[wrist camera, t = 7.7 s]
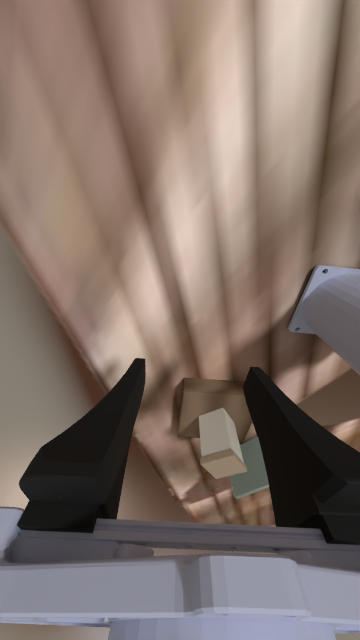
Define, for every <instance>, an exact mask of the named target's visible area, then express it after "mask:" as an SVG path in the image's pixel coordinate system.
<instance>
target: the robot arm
mask: <svg viewBox="0 0 360 640" xmlns="http://www.w3.org/2000/svg"><path fill="white" fill-rule="evenodd" d="M324 269H326V270H325V272H323V270H324ZM322 272H323V273H322ZM296 328H298V329H296ZM288 330H289V331H290V332H295V333H307V334H316V335H317V336H318V337H319V338H321V339H322V340H323V341H324V342H325V343H326V344H327V345H328V346H329V347H330V348H331V349H332V350H333V351H334V352H335V353H337V354H338V355H339V356H340V357H341V358H342V359H343V360H344V361H345V362H346V363H347V364H348V365H349V366H350V367H351V368H353V369H354V370H355V371H356V372H357V373H358V374H359V375H360V269H357V268H346V267H336V266H325V265H318V266H316V267H315V268H314V270H313V272H312V274H311V277H310V279H309V281H308V283H307V286H306V288H305V290H304V292H303V295H302V297H301V299H300V302H299V304H298V306H297V308H296V311H295V313H294V315H293V317H292V320H291V322H290V324H289V326H288ZM144 386H145V359H141V358H136V359H135V360H134V361H133V363H132V364H131V366H130V367H129V369H128V370H127V371H126V373H125V374H124V375H123V377H122V378H121V379H120V380H119V382H118V383H117V384H116V385H115V386H114V387H113V389H112V390H111V391H110V392H109V393H108V394H107V395H106V396H105V397H104V398H103V399H102V400H101V401H100V402H99V403H98V404H97V405H96V406H95V407H94V408H93V409H91V410H90V411H89V412H88V413H87V414H86V415H85V416H83V417H82V418H81V419H80V420H78V421H77V422H76V423H75V424H73V425H72V426H71V427H69V428H68V429H67V430H65V431H64V432H63V433H61V434H60V435H58V436H57V437H55V438H54V439H53V440H51V441H49V442H48V443H47V444H45V445H44V446H42V447H41V448H40V450H39V451H38V453H37V454H36V455H35V457H34V458H33V460H32V461H31V463H30V464H29V466H28V468H27V469H26V471H25V473H24V474H23V476H22V478H21V479H20V482H19V486H20V488H21V490H22V491H23V493H24V494H25V495H26V496H27V498H28V499H29V500H30V501H29V502H28V505H27V506H26V508H25V510H24V509H21V508H16V507H0V623H22V624H44V625H47V624H48V625H68V626H90V627H110V631H109V637H108V640H336V638H335V635H334V633H360V452H358V451H356V450H355V449H353V448H352V447H350V446H349V445H347V444H346V443H344V442H343V441H341V440H340V439H338V438H337V437H336V436H334V435H333V434H331V433H330V432H329V431H327V430H326V429H325V428H323V427H322V426H321V425H319V424H318V423H317V422H315V421H314V420H313V419H312V418H311V417H309V416H308V415H307V414H306V413H305V412H303V411H302V410H301V409H300V408H299V407H298V406H297V405H296V404H295V403H294V402H292V401H291V400H290V399H289V398H288V397H287V396H286V395H285V394H284V393H283V392H282V391H281V390H280V389H279V388H278V387H277V386H276V385H275V384H274V382H273V381H272V380H271V379H270V378H269V377H268V376H267V375H266V374H265V373H264V372H263V371H262V370H261V369H260V368H259V367H250V370H249V372H248V375H247V378H246V380H245V383H244V386H243V390H244V396H245V400H246V404H247V407H248V410H249V413H250V416H251V419H252V421H253V424H254V427H255V430H256V433H257V436H258V439H259V443H260V447H261V451H262V455H263V459H264V464H265V468H266V473H267V477H268V483H269V488H270V493H271V498H272V504H273V510H274V516H275V523H276V527H269V526H248V525H227V524H205V523H183V522H162V521H141V520H139V521H138V520H119V519H117V513H118V507H119V501H120V496H121V489H122V484H123V478H124V473H125V467H126V462H127V456H128V451H129V446H130V441H131V436H132V432H133V427H134V424H135V421H136V417H137V414H138V410H139V407H140V403H141V400H142V396H143V391H144ZM146 547H153V548H176V549H200V550H222V551H223V550H224V551H246V552H270V553H277V554H254V553H229V552H210V553H205V554H194V555H193V554H191V555H170V556H153V554H154V551H153V550H152V549H151V548H146Z"/></svg>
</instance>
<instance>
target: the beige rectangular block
mask: <svg viewBox="0 0 360 640" xmlns="http://www.w3.org/2000/svg"><path fill="white" fill-rule="evenodd" d="M199 428H200V442H201V455H202V458H201V459H200V464H201V465H202V466H203V467H204V468H205V469H206V470H207V471H208V472H209V473H210V474H211V475H212V476H213V477H215V478H216V479H218V478H222V477H226V476H230V475H234V474H238V473H242V472H246V471H247V467H246V465H245V464H244V461H243V457H242V453H241V449H240V444H239V440H238V436H237V432H236V428H235V424H234V422H233V420H232V419H231V417H230V416H229V415H228V413H227V412H226V411H225V409H224V408H221V409H218V410H215V411H212V412H209V413H206V414H204V415H201V416H199Z"/></svg>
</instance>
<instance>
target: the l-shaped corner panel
mask: <svg viewBox="0 0 360 640" xmlns="http://www.w3.org/2000/svg"><path fill="white" fill-rule="evenodd" d="M240 449H241V453H242V457H243V461H244V464H245V465H246V467H247V471H246V472H242V473H238V474H234V475H230V476H231V481H232V487H233V493H234V497H235V498H237V499H238V498H241V497H244V496H246V495H249V494H252V493H254V492H257V491H260V490H263V489H265V488H268V487H269V483H268V477H267V473H266V468H265V464H264V459H263V455H262V451H261V447H260V443H259V439H258V437H256V438H254V439H252V440H250V441H248V442H246V443H244V444H242V445H240Z"/></svg>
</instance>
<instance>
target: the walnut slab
mask: <svg viewBox="0 0 360 640" xmlns="http://www.w3.org/2000/svg"><path fill="white" fill-rule="evenodd" d="M244 383H245V382H240V381H225V380H210V379H194V378H184V380H183V388H182V396H181V404H180V412H179V420H178V437H195V438H200V428H199V416H201V415H204V414H206V413H209V412H212V411H215V410H218V409H221V408H224V409H225V411H226V412H227V413H228V415H229V416H230V417H231V419H232V420H233V422H234V424H235V428H236V432H237V436H238V440H244V439H245V437H246V434H247V432H248V430H249V428H250V426H251V423H252V419H251V416H250V413H249V410H248V407H247V404H246V400H245V396H244V390H243V386H244Z"/></svg>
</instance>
